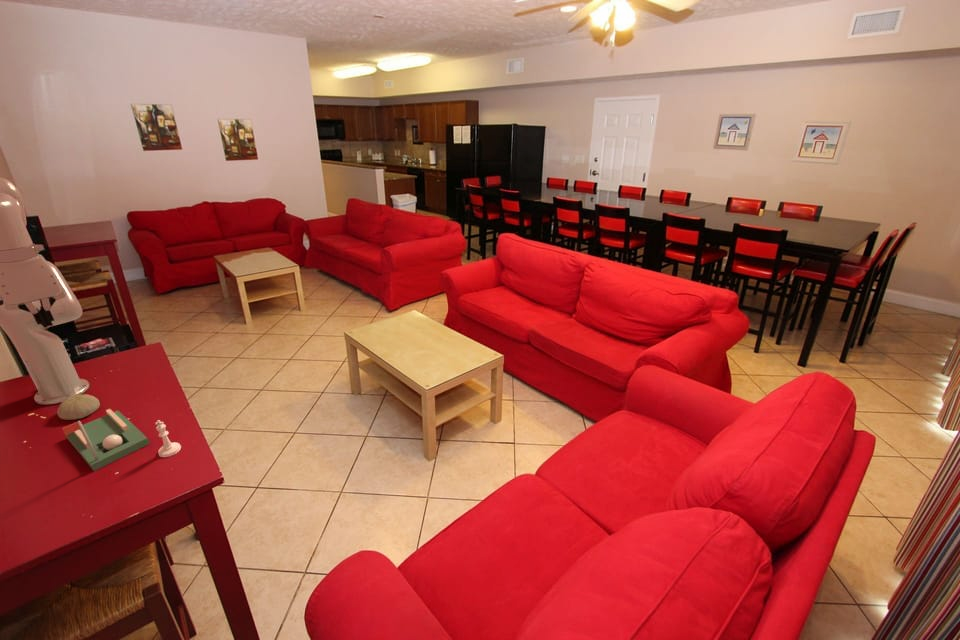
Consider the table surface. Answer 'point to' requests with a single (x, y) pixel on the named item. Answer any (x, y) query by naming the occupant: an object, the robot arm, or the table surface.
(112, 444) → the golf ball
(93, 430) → the mat
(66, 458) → the table surface
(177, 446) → the chess piece
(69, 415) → the sea urchin shell
